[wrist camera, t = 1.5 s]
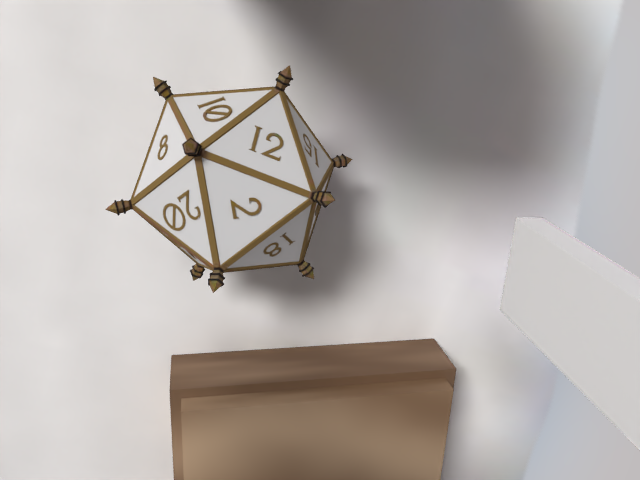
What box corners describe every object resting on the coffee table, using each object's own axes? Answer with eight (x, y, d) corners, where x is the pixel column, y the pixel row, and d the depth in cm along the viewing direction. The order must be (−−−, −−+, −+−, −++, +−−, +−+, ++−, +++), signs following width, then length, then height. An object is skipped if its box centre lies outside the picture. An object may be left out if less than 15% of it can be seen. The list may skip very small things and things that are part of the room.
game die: (228, 180, 31) (187, 358, 25) (113, 57, 25) (25, 253, 19) (387, 132, 27) (381, 328, 22) (296, -27, 21) (255, 186, 16)
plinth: (408, 532, 38) (431, 589, 34) (181, 563, 35) (180, 627, 31) (433, 338, 33) (464, 379, 29) (171, 355, 30) (169, 403, 26)
